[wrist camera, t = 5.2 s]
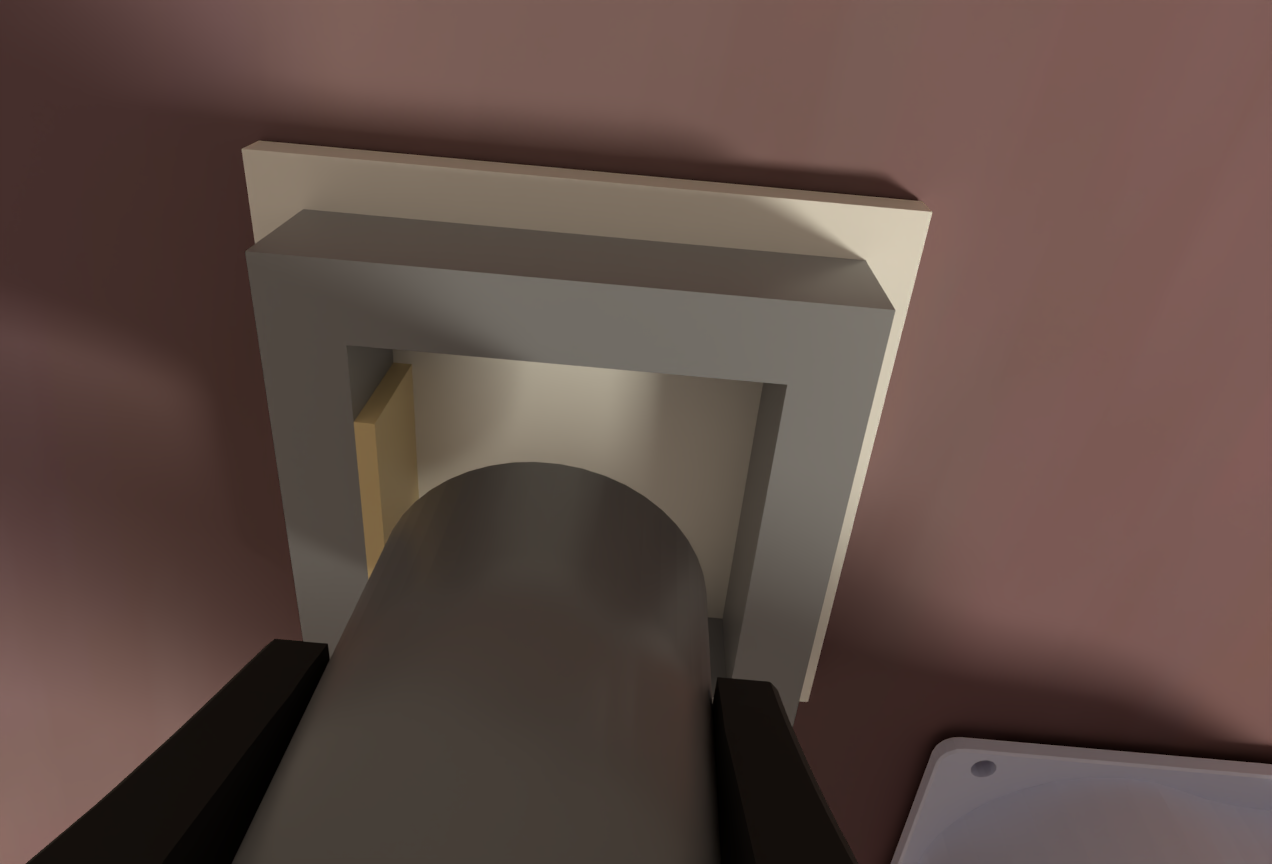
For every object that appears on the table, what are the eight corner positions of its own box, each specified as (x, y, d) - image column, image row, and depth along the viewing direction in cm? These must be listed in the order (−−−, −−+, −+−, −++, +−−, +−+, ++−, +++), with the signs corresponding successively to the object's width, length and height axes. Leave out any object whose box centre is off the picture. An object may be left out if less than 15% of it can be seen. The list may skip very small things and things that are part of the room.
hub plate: (922, 201, 13) (974, 255, 11) (803, 680, 18) (823, 786, 16) (258, 140, 13) (170, 181, 11) (324, 638, 18) (273, 739, 16)
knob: (736, 489, 11) (806, 1070, 5) (676, 735, 13) (681, 1330, 7) (379, 438, 10) (52, 982, 5) (379, 696, 13) (152, 1274, 7)
